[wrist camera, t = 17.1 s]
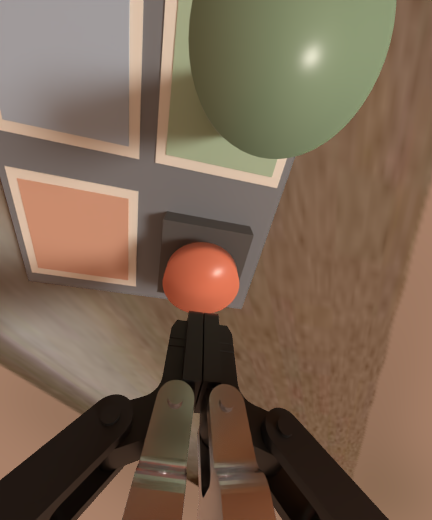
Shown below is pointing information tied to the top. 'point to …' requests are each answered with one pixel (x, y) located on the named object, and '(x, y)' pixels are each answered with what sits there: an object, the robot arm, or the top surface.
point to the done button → (201, 278)
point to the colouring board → (119, 148)
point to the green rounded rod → (286, 68)
